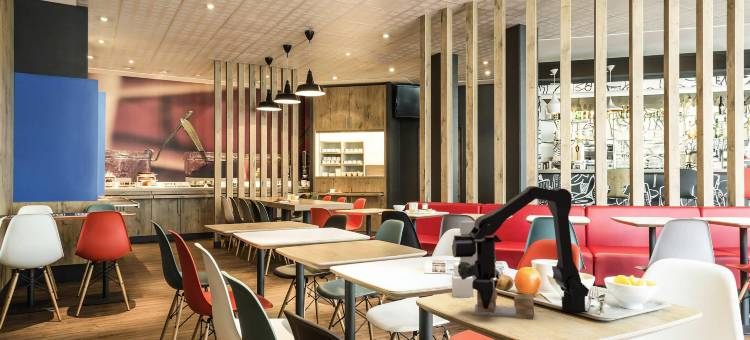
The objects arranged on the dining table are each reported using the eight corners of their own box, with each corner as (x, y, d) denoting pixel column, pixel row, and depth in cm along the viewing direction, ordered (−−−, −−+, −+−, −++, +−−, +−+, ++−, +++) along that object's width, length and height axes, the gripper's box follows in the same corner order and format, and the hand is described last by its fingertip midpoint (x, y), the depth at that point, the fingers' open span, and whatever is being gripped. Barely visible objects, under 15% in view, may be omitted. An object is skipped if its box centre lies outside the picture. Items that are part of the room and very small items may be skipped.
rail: (533, 316, 158) (533, 306, 158) (533, 322, 153) (532, 311, 153) (475, 312, 165) (475, 302, 165) (472, 317, 159) (472, 307, 159)
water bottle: (460, 284, 206) (459, 222, 206) (460, 280, 213) (459, 220, 213) (483, 285, 204) (482, 222, 204) (482, 280, 212) (481, 220, 212)
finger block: (497, 307, 162) (496, 288, 162) (495, 312, 157) (494, 293, 157) (480, 306, 164) (479, 287, 164) (477, 311, 158) (477, 292, 158)
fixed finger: (533, 314, 158) (533, 294, 159) (533, 319, 153) (532, 299, 153) (515, 312, 160) (515, 293, 160) (514, 318, 155) (514, 298, 155)
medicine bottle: (471, 292, 191) (470, 260, 191) (473, 297, 184) (472, 264, 184) (452, 292, 192) (451, 260, 192) (453, 297, 185) (452, 264, 185)
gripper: (465, 251, 172) (466, 297, 172) (454, 260, 154) (456, 312, 154) (499, 252, 168) (500, 299, 168) (492, 262, 151) (493, 314, 151)
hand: (486, 306), depth 160 cm, fingers closed on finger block, 6 cm apart
